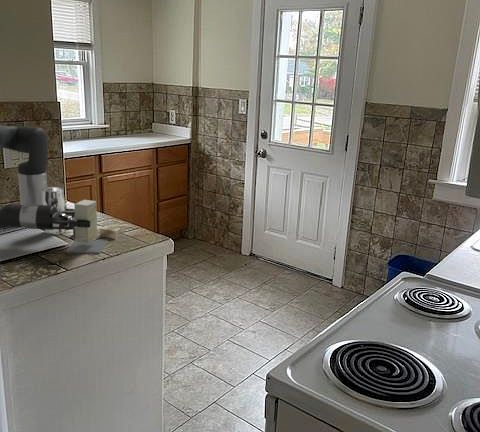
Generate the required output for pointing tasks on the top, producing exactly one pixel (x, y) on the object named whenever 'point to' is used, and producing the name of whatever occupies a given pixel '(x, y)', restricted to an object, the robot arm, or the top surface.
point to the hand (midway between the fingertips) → (93, 220)
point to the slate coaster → (87, 247)
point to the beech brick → (110, 232)
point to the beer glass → (54, 203)
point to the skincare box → (86, 212)
